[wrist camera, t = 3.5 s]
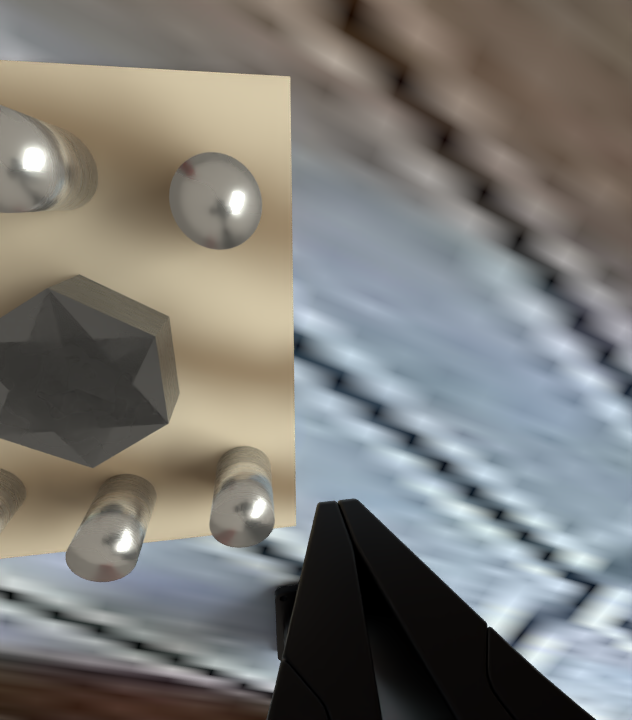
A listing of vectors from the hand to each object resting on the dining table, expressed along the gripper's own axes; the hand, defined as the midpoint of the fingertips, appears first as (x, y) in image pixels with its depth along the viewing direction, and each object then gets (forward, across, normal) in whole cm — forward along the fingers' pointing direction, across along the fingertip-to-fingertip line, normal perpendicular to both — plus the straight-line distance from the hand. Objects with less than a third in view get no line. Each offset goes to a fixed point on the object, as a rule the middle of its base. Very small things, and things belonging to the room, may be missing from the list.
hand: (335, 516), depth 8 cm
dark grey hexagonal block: (+10, +8, 0) cm, 12 cm away
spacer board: (+11, +7, 0) cm, 13 cm away
